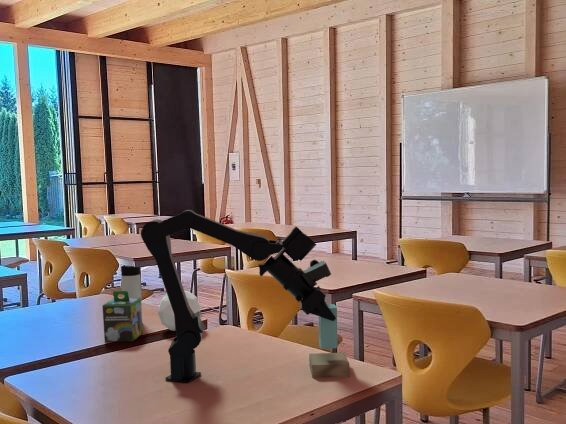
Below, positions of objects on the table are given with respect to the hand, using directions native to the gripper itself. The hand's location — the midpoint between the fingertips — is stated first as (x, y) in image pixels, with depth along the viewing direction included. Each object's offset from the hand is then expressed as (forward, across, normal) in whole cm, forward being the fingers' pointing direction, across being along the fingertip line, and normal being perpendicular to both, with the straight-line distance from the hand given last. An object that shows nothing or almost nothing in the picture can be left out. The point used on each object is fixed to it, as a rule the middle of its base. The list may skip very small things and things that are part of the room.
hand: (333, 317), depth 145 cm
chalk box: (-32, +39, +52) cm, 72 cm away
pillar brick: (+4, 0, +6) cm, 7 cm away
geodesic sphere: (-20, +45, +40) cm, 64 cm away
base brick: (+9, 0, +11) cm, 14 cm away
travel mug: (-32, +56, +52) cm, 83 cm away
